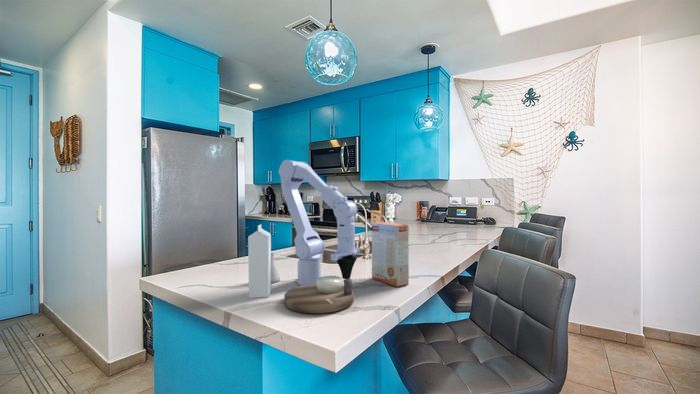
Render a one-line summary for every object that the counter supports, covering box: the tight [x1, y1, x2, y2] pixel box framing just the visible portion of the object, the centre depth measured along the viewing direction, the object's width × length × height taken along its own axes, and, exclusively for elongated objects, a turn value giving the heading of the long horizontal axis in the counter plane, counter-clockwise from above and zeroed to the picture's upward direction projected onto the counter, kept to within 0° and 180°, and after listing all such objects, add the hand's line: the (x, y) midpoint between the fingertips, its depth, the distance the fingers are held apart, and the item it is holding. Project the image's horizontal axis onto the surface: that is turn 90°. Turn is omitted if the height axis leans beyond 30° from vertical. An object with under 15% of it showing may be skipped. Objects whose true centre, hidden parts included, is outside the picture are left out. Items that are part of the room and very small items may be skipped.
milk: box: [247, 223, 272, 299], centre depth 100 cm, size 6×6×22 cm
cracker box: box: [371, 221, 410, 288], centre depth 113 cm, size 14×6×21 cm, turn 33°
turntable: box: [283, 278, 354, 314], centre depth 93 cm, size 20×20×6 cm
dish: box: [316, 275, 344, 293], centre depth 97 cm, size 8×8×3 cm
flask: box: [271, 252, 281, 284], centre depth 115 cm, size 7×7×10 cm
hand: (346, 278), depth 105 cm, fingers closed
